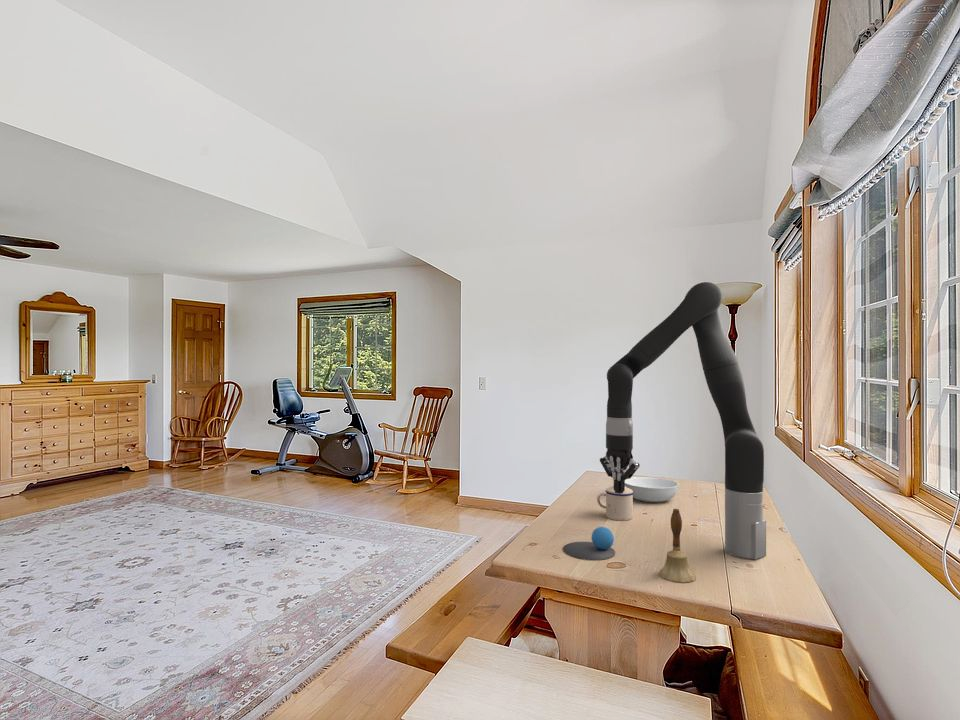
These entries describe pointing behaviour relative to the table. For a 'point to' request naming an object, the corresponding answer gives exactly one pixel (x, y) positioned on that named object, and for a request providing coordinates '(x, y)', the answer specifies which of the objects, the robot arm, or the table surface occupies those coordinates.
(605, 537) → the ball
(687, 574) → the hand bell
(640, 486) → the serving bowl
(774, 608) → the table surface
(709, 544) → the table surface
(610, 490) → the teacup with lid
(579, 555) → the charcoal disc
